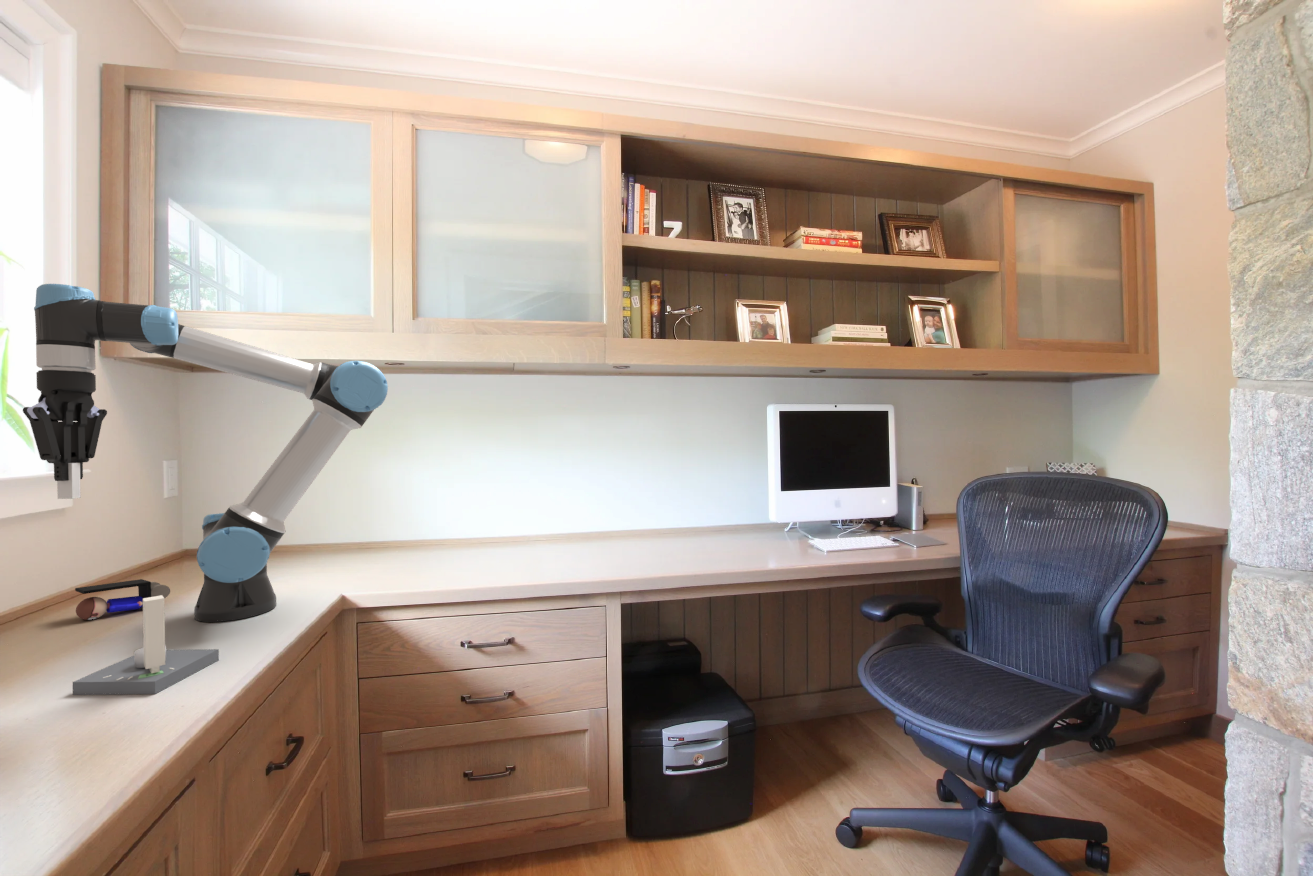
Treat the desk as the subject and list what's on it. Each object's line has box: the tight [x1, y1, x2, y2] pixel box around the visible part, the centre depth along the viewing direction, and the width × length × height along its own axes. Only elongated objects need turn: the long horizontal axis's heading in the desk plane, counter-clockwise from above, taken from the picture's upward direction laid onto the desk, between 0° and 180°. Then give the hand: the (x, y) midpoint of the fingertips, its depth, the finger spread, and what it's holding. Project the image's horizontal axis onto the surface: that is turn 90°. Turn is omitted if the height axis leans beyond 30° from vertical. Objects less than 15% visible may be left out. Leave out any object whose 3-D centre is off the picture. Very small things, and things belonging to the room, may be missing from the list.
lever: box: [133, 595, 167, 674], centre depth 94 cm, size 8×4×12 cm, turn 48°
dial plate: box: [72, 648, 220, 696], centre depth 95 cm, size 13×13×2 cm
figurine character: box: [74, 578, 171, 621], centre depth 129 cm, size 7×8×15 cm
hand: (69, 498), depth 103 cm, fingers closed
